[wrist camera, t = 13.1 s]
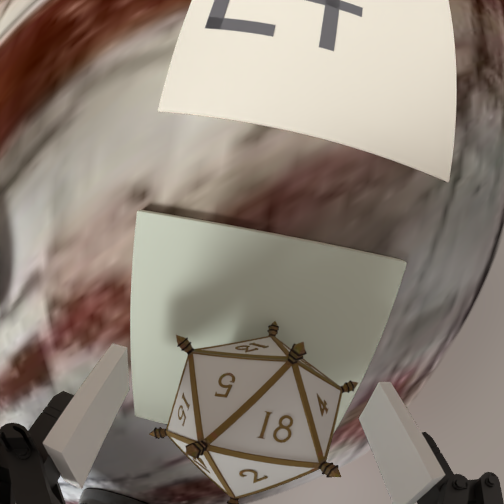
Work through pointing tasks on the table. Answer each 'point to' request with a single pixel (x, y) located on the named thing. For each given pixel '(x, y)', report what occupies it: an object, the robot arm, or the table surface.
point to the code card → (325, 72)
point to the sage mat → (250, 301)
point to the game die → (254, 414)
